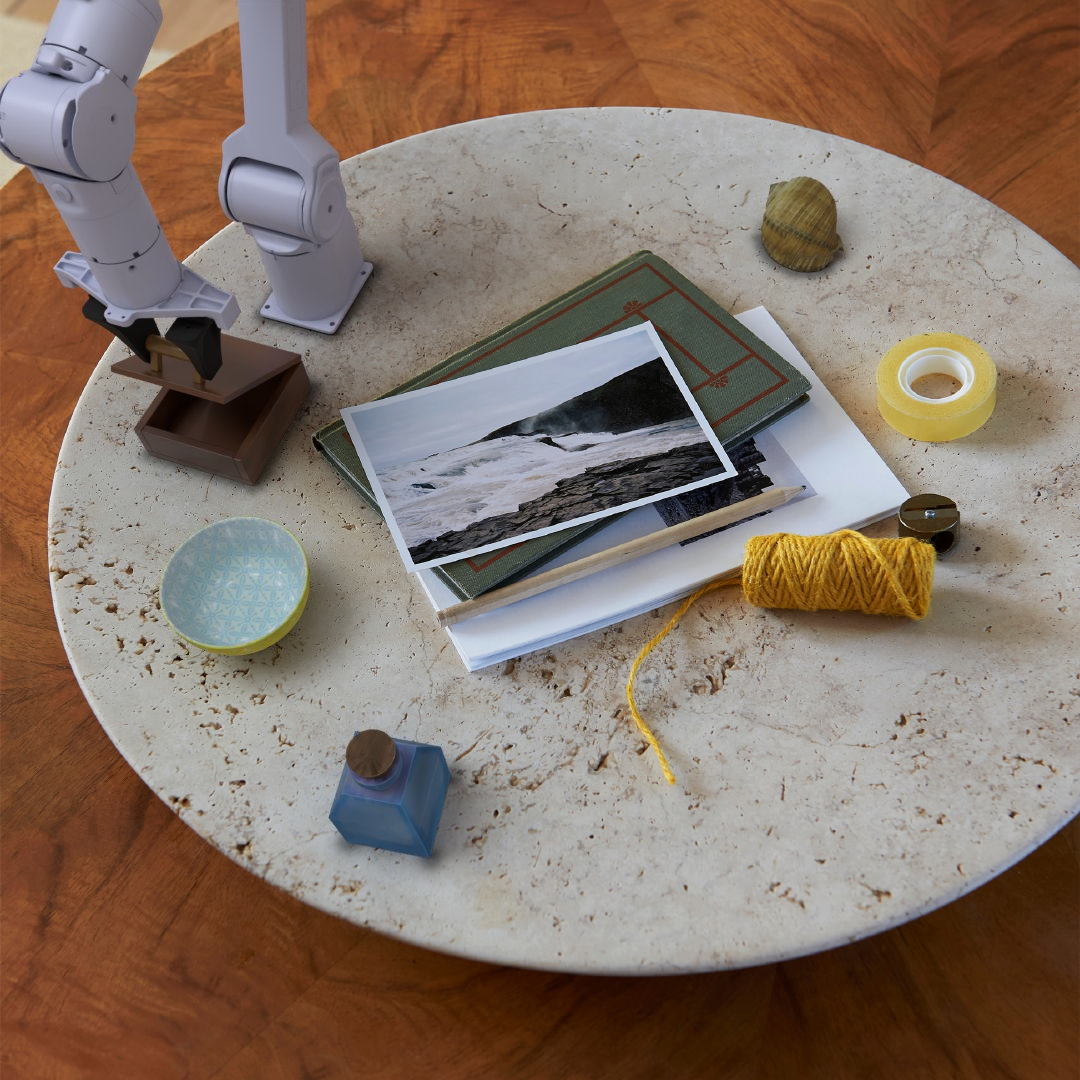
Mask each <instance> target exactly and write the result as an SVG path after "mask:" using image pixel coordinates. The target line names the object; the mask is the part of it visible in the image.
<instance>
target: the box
mask: <svg viewBox="0 0 1080 1080" xmlns="http://www.w3.org/2000/svg"><path fill="white" fill-rule="evenodd" d="M312 388H313V386H312V384H311V381H310V378H309V375H308V373H307V370H306V366H305V364H304V361H303V360H302V359H301V361H300V362H298V363H296V364H295V365H293V366H291V367H289V368H288V369H286V370H284V371H282V372H281V373H279V374H277V375H275V376H274V377H272V378H270V379H268V380H266V381H265V382H263V383H261V384H259V385H258V386H256V387H254V388H252V389H251V390H249V391H247V392H245V393H244V394H242V395H240V396H238V397H236V398H235V399H233V400H231V401H229V402H228V403H226V404H222V403H218V402H215V401H211V400H208V399H204V398H201V397H197V396H194V395H190V394H187V393H183V392H180V391H176V390H173V389H169V388H166V387H162V386H161V388H160V389H159V391H158V393H157V394H156V396H155V397H154V398H153V400H152V402H151V403H150V404H149V406H148V407H147V408H146V410H145V411H144V413H143V414H142V415H141V417H140V418H139V420H138V422H137V423H136V425H135V426H134V428H133V431H134V433H135V434H136V437H137V438H138V439H139V441H140V442H141V444H142V446H143V447H144V449H145V451H146V453H147V454H148V455H149V456H152V457H155V458H159V459H163V460H165V461H168V462H172V463H175V464H179V465H182V466H185V467H188V468H192V469H196V470H198V471H202V472H205V473H209V474H212V475H215V476H219V477H222V478H225V479H229V480H231V481H234V482H239V483H242V484H245V485H248V486H251V487H253V486H254V485H255V484H256V482H257V480H258V479H259V478H260V475H261V474H262V473H263V471H264V468H265V467H266V465H267V464H268V462H269V460H270V458H271V457H272V455H273V453H274V452H275V450H276V448H277V447H278V445H279V443H280V442H281V440H282V438H283V437H284V435H285V433H286V432H287V430H288V429H289V427H290V425H291V423H292V421H293V420H294V418H295V417H296V415H297V413H298V411H299V410H300V408H301V407H302V405H303V403H304V401H305V400H306V399H307V396H308V395H309V393H310V392H311V389H312Z"/></svg>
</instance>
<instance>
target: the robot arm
mask: <svg viewBox="0 0 1080 1080" xmlns="http://www.w3.org/2000/svg"><path fill="white" fill-rule="evenodd" d="M237 11H238V30H239V46H240V47H239V48H240V60H241V61H240V62H241V63H240V64H241V75H242V76H241V77H242V78H241V79H242V94H243V95H242V96H243V97H242V98H243V111H244V124H243V125H241V126H240V127H238V128H237V129H236V130H234V131H233V132H231V134H229V135H228V136H227V137H226V138H225V139H224V140H223V142H222V143H221V148H222V149H221V151H222V164H221V169H220V173H219V178H218V183H217V184H218V185H217V193H218V199H219V203H220V207H221V209H222V212H223V213H224V215H225V216H226V218H227V219H229V220H230V221H231V222H235V223H241V224H242V227H243V231H244V233H245V234H246V235H248V236H250V237H251V238H253V240H254V242H255V246H256V247H257V250H258V253H259V256H260V259H261V262H262V265H263V267H264V270H265V272H266V275H267V278H268V281H269V284H270V287H271V289H272V292H271V293H270V295H269V296H268V298H267V299H266V301H265V302H264V303H263V306H262V307H261V308H260V311H259V313H260V316H262V317H263V318H267V319H271V320H273V321H278V322H283V323H285V324H290V325H292V326H293V325H294V326H297V327H301V328H304V329H308V330H312V331H313V330H314V331H317V332H320V333H323V334H328V335H332V334H334V333H335V332H336V331H337V330H338V328H339V326H340V325H341V323H342V322H343V319H344V318H345V316H346V315H347V313H348V312H349V310H350V308H351V307H352V304H353V303H354V302H355V300H356V298H357V297H358V295H359V293H360V292H361V290H362V288H363V287H364V285H365V283H366V282H367V280H368V278H370V275H371V273H372V272H373V270H374V266H373V263H371V262H369V261H365V259H364V255H363V250H362V247H361V243H360V239H359V235H358V231H357V227H356V224H355V222H356V221H355V219H354V216H353V215H352V213H351V211H350V209H349V208H348V206H347V192H346V188H345V186H344V183H343V179H342V175H341V166H340V165H341V164H340V153H339V152H338V150H337V149H336V148H335V147H334V146H333V145H332V144H331V143H330V142H329V141H328V139H325V137H324V136H323V135H322V134H320V132H319V131H318V130H317V129H316V128H315V127H314V126H313V125H312V123H310V113H309V112H310V110H309V74H308V73H309V71H308V69H309V67H308V29H307V27H308V26H307V0H237ZM163 20H164V15H163V9H162V7H161V4H160V0H58V2H57V4H56V7H55V9H54V12H53V14H52V16H51V18H50V21H49V23H48V26H47V28H46V30H45V33H44V35H43V38H42V40H41V42H40V45H39V47H38V49H37V52H36V54H35V56H34V58H33V61H32V63H31V66H30V68H29V69H25V70H21V71H19V75H14V76H12V77H11V78H9V79H8V80H7V81H6V82H5V83H4V84H3V86H1V88H0V151H1V152H2V154H3V155H4V156H5V157H7V158H8V159H9V160H10V161H12V162H14V163H16V164H19V165H23V166H25V167H26V168H27V169H29V171H30V172H31V174H32V175H33V178H34V179H35V181H36V183H38V184H42V185H43V186H44V188H45V190H46V191H47V194H48V195H49V197H50V199H51V200H52V202H53V205H54V207H55V208H56V209H57V211H58V213H59V214H60V217H61V218H62V220H63V222H64V224H65V226H66V228H67V230H68V231H69V233H70V234H71V236H72V238H73V240H74V242H75V244H76V245H77V248H78V250H79V251H80V252H75V251H71V250H67V251H65V252H64V254H63V255H62V256H61V258H60V259H59V260H58V262H57V263H56V264H55V265H54V266H53V268H52V269H53V271H54V273H55V274H56V276H57V278H58V280H59V281H60V283H61V284H62V287H65V288H68V289H76V288H77V287H79V288H81V289H82V290H83V291H85V292H86V293H87V296H88V299H87V300H86V301H85V303H84V304H83V305H82V308H81V313H82V314H83V316H84V319H86V320H88V321H91V322H93V323H95V324H96V325H99V326H100V327H101V328H104V329H105V330H106V331H108V332H110V333H111V334H112V335H114V336H115V337H116V338H117V339H119V340H120V341H121V342H122V343H123V344H124V345H125V346H126V347H127V348H128V349H130V351H132V353H134V355H135V354H136V355H137V356H138V357H139V358H140V359H141V360H142V361H144V362H145V363H149V364H151V360H150V351H148V350H147V349H146V339H147V337H148V336H149V335H151V334H154V335H158V336H161V337H162V334H161V331H160V328H159V327H158V324H157V322H156V320H155V319H167V318H175V320H174V321H173V322H172V323H171V325H170V327H169V328H168V329H167V331H166V332H165V334H164V335H163V337H165V339H166V340H168V341H170V342H172V343H174V344H175V345H176V346H178V347H179V348H180V349H181V350H182V351H183V352H184V353H185V354H186V355H187V357H188V358H189V359H190V361H191V363H192V364H193V366H194V368H195V369H196V371H197V372H198V374H199V375H200V376H201V377H202V378H203V379H206V380H209V381H211V380H212V379H213V378H214V376H215V375H216V373H217V372H218V370H219V369H220V367H221V366H222V364H223V362H222V353H221V333H222V330H224V331H230V330H231V328H232V327H233V326H234V324H236V321H237V320H238V318H239V316H240V315H241V313H242V310H241V308H240V305H239V302H238V300H237V297H236V295H235V294H234V293H232V292H229V291H226V290H223V289H221V288H219V287H218V286H216V285H215V284H213V283H212V282H210V281H209V280H207V279H205V278H204V277H203V276H201V274H198V273H197V272H195V271H194V270H192V268H190V267H189V266H187V265H186V264H184V263H182V262H181V261H180V260H178V259H177V258H176V257H175V255H174V253H173V250H172V248H171V245H170V244H169V241H168V239H167V237H166V235H165V232H164V230H163V228H162V225H161V223H160V222H159V220H158V218H157V215H156V213H155V210H154V209H153V206H152V204H151V202H150V199H149V198H148V195H147V193H146V191H145V189H144V187H143V184H142V183H141V179H140V177H139V175H138V173H137V171H136V169H135V166H134V164H133V162H132V160H131V157H132V156H133V153H134V150H135V144H136V135H137V134H136V122H135V121H136V120H135V116H136V111H137V109H138V106H139V105H138V104H137V102H138V96H137V94H135V93H134V91H135V89H136V87H137V84H138V81H139V79H140V77H141V75H142V72H143V69H144V67H145V65H146V62H147V60H148V57H149V55H150V52H151V51H152V47H153V46H154V43H155V41H156V38H157V35H158V33H159V31H160V28H161V25H162V23H163Z"/></svg>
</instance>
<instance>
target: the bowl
mask: <svg viewBox="0 0 1080 1080" xmlns="http://www.w3.org/2000/svg"><path fill="white" fill-rule="evenodd" d="M310 573H311V572H310V567H309V561H308V558H307V555H306V552H305V550H304V548H303V546H302V544H301V543H300V541H299V539H298V538H297V537H296V536H295V534H293V533H292V532H291V531H290V530H288V528H286V527H285V526H283V525H281V524H279V523H278V522H276V521H274V520H271V519H267V518H262V517H259V516H252V515H251V516H250V515H240V516H233V517H228V518H224V519H220V520H217V521H215V522H214V521H213V522H212V523H209V524H207V525H205V526H203V527H201V528H200V529H198V530H196V531H195V532H193V533H192V534H191V535H189V536H188V537H187V538H186V539H184V541H182V542H181V544H179V545H178V547H177V548H176V549H175V550H174V552H173V553H172V554H171V555H170V557H169V559H168V560H167V562H166V564H165V566H164V568H163V571H162V573H161V576H160V580H159V585H158V601H159V605H160V609H161V613H162V614H163V616H164V618H165V621H166V622H167V623H168V625H169V626H170V627H171V629H172V630H173V631H174V632H175V633H176V634H177V635H178V636H179V637H181V638H182V639H183V640H185V642H187V643H189V644H190V645H192V646H193V647H196V648H197V649H200V650H203V651H205V652H208V653H211V654H214V655H215V654H216V655H221V656H222V655H223V656H244V655H245V656H246V655H250V654H254V653H258V652H260V651H263V650H265V649H267V648H269V647H271V646H273V645H275V644H276V643H278V642H279V641H280V640H282V639H283V638H284V637H285V636H286V635H287V634H289V632H290V631H291V630H292V629H293V628H294V627H295V626H296V624H297V623H298V621H299V620H300V618H301V617H302V615H303V613H304V610H305V609H306V605H307V602H308V599H309V594H310V588H311V587H310V586H311V585H310V584H311V574H310Z"/></svg>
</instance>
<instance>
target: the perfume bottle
mask: <svg viewBox="0 0 1080 1080" xmlns="http://www.w3.org/2000/svg"><path fill="white" fill-rule="evenodd" d="M344 757H345V762H344V766H343V769H342V771H341V775H340V778H339V781H338V784H337V788H336V791H335V795H334V799H333V801H332V804H331V808H330V811H329V815H328V817H327V818H328V819H329V820H330V822H331V823H332V825H333V826H334V827H335V828H336V830H337V831H338V833H339V834H340V836H342V838H343V839H344V840H345V842H346V843H350V844H353V845H354V844H355V845H360V846H364V847H370V848H375V849H380V850H384V851H389V852H394V853H400V854H405V855H409V856H414V857H419V858H423V859H429V860H430V859H431V856H432V853H433V848H434V844H435V840H436V836H437V833H438V828H439V825H440V821H441V817H442V812H443V809H444V805H445V800H446V797H447V793H448V789H449V785H450V781H451V777H452V774H451V772H450V769H449V765H448V763H447V759H446V757H445V754H444V751H443V748H442V746H439V745H434V744H428V743H424V742H419V741H413V740H409V739H408V740H407V739H403V738H402V739H401V738H397V737H392V736H391V735H389V734H388V733H386V732H385V731H383V730H381V729H376V728H369V729H365V730H361V731H359V730H354V732H353V736H352V738H351V739H350V740H349V742H348V744H347V746H346V749H345V755H344Z"/></svg>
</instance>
